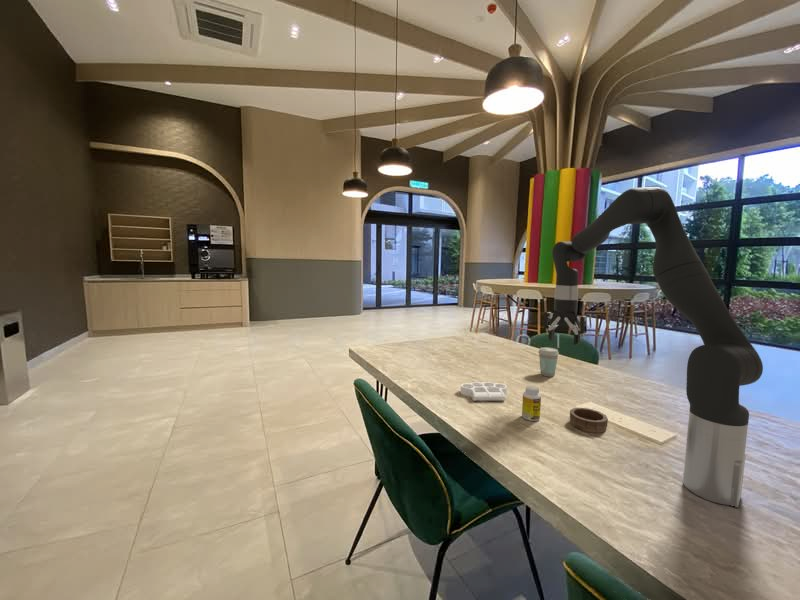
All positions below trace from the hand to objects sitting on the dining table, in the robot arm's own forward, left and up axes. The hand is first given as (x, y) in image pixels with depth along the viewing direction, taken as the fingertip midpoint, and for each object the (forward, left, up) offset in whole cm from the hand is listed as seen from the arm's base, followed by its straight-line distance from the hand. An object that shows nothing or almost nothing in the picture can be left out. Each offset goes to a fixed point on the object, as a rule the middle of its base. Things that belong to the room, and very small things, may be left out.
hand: (563, 342), depth 121 cm
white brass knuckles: (+22, +16, -23) cm, 35 cm away
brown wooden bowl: (-14, +12, -22) cm, 29 cm away
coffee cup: (+18, -26, -22) cm, 39 cm away
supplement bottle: (0, +21, -22) cm, 31 cm away
